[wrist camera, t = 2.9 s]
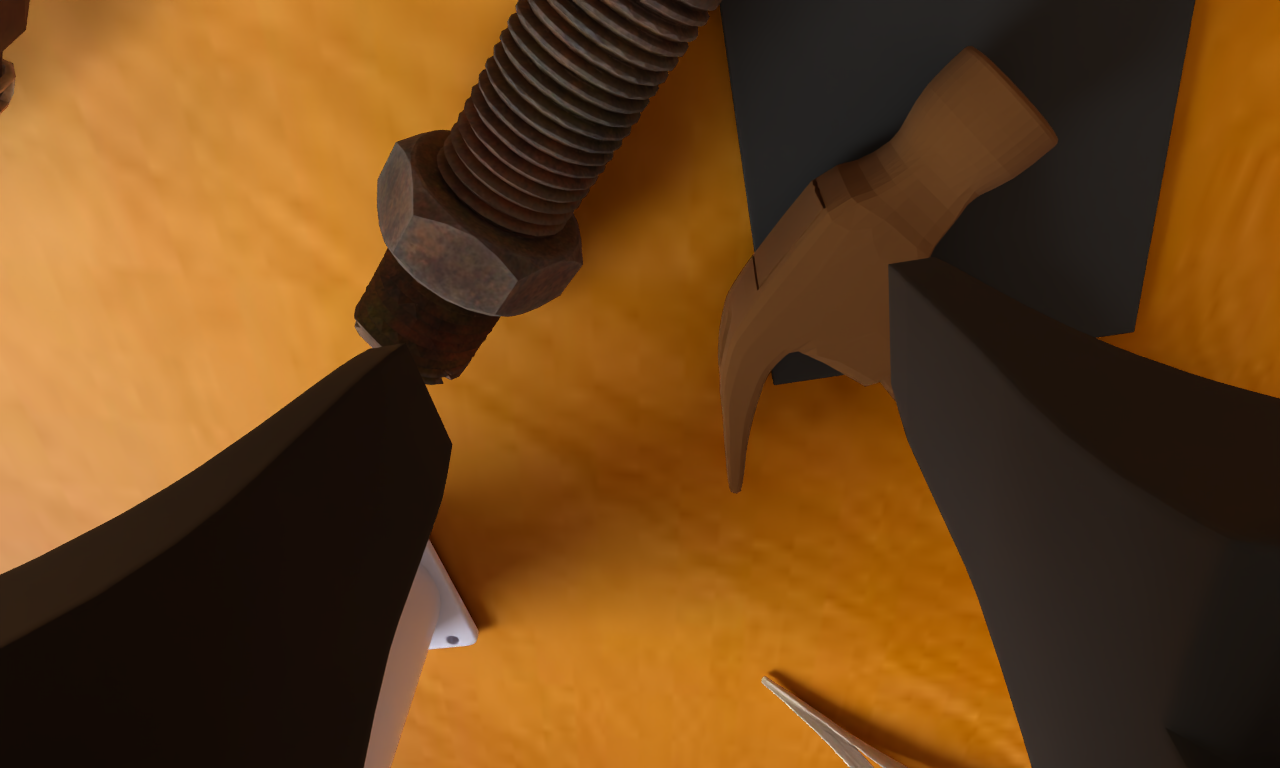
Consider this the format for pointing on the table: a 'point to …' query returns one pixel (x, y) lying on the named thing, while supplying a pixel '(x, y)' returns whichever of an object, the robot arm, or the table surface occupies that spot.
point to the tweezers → (833, 732)
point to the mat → (1015, 211)
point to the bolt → (513, 174)
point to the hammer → (869, 238)
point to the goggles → (4, 20)
